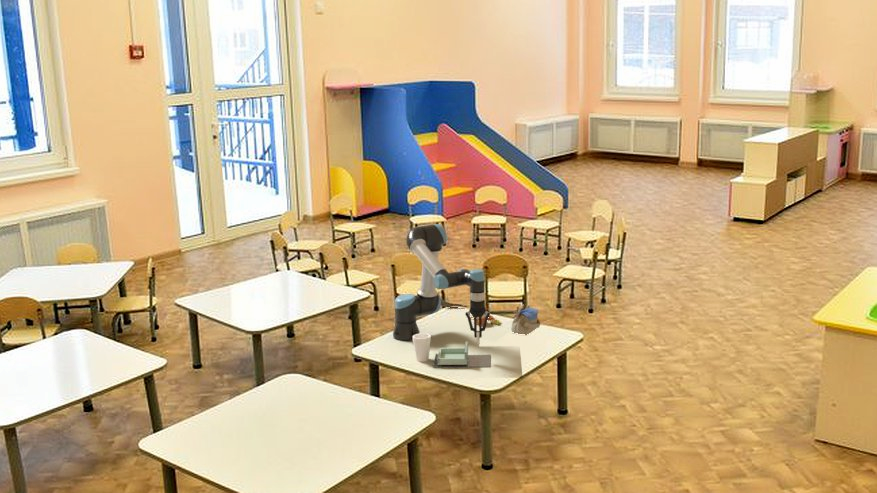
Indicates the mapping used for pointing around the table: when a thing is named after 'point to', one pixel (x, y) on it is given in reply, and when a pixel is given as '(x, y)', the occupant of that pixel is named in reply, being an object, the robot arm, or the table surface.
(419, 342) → the foam cup
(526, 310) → the grey and blue lump
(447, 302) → the bird
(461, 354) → the shallow mint tray
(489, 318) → the toy tea set
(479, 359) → the rail
